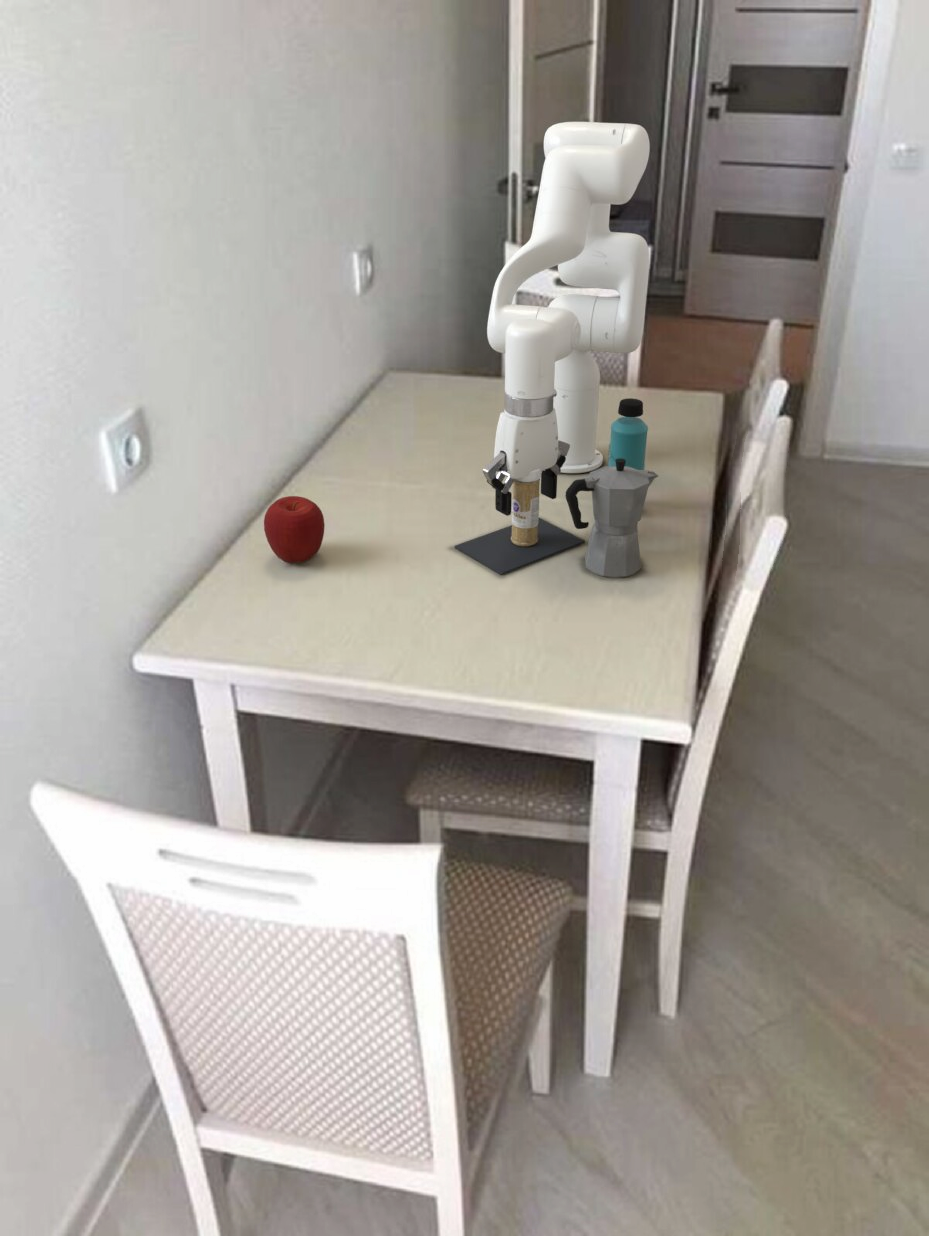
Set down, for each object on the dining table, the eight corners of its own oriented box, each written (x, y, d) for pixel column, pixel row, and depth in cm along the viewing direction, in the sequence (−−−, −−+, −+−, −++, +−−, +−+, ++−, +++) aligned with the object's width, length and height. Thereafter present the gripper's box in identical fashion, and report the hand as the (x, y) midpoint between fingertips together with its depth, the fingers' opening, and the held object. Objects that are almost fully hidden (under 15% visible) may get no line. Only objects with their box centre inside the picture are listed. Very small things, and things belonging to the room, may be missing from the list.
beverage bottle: (644, 505, 188) (654, 396, 177) (637, 520, 182) (647, 409, 172) (608, 500, 189) (616, 392, 179) (600, 515, 184) (608, 404, 174)
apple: (278, 577, 165) (272, 518, 160) (259, 552, 172) (253, 495, 167) (335, 563, 169) (331, 506, 164) (314, 539, 176) (309, 484, 171)
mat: (454, 547, 173) (454, 545, 173) (536, 518, 183) (536, 516, 183) (501, 575, 165) (501, 573, 165) (584, 542, 175) (585, 540, 175)
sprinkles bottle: (505, 542, 174) (506, 466, 167) (522, 532, 177) (524, 457, 170) (527, 550, 172) (529, 473, 165) (544, 540, 175) (547, 464, 168)
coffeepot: (635, 545, 174) (644, 442, 165) (663, 571, 166) (675, 464, 157) (549, 560, 170) (554, 455, 160) (574, 587, 162) (581, 478, 153)
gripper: (554, 384, 170) (550, 482, 178) (469, 408, 160) (469, 511, 169) (586, 397, 165) (581, 497, 173) (501, 422, 155) (500, 527, 164)
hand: (526, 504), depth 171 cm, fingers open, 9 cm apart
